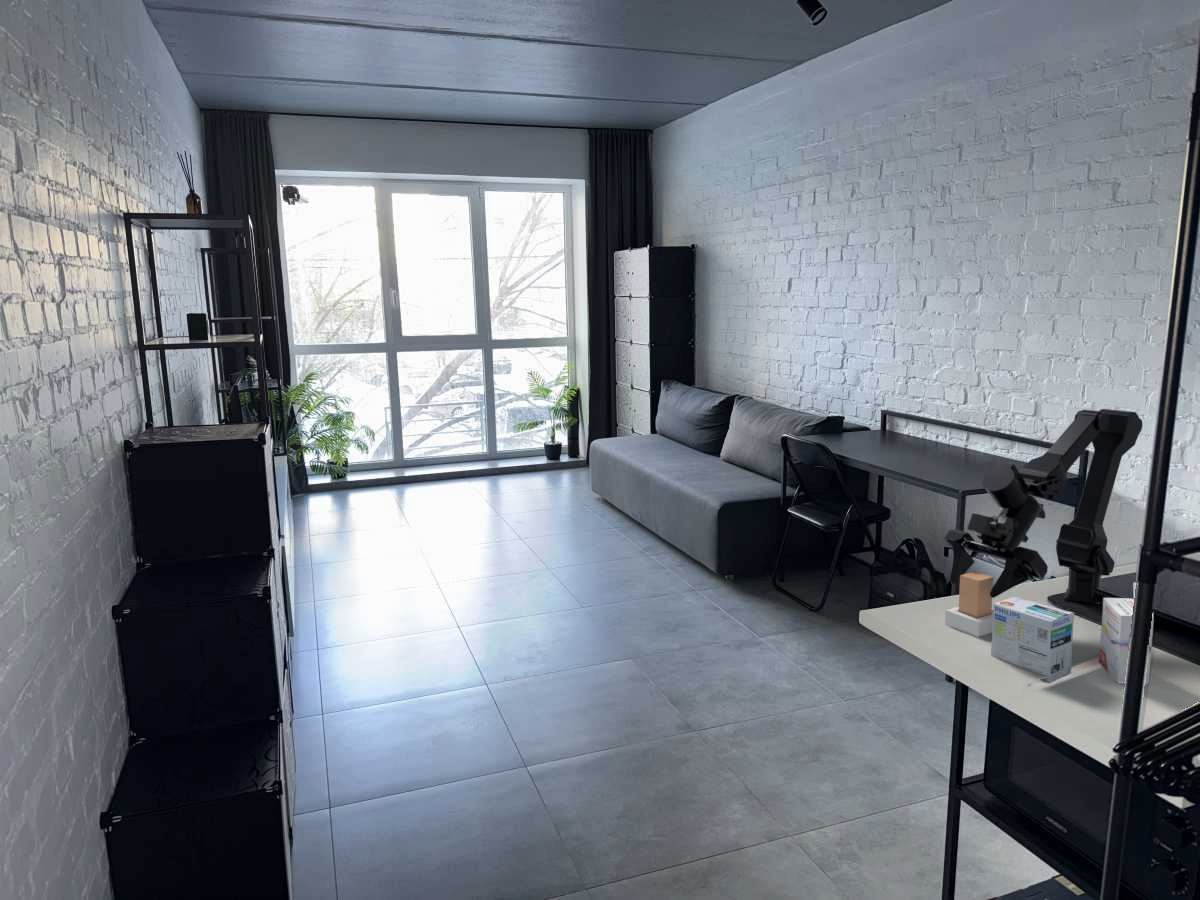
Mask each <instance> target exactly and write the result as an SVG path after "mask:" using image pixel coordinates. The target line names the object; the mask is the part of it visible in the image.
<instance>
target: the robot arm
mask: <svg viewBox="0 0 1200 900" xmlns="http://www.w3.org/2000/svg"><path fill="white" fill-rule="evenodd" d="M1143 424H1144V423H1143V420H1142V418H1140V417H1139V415H1138V413H1137V412H1135V411H1127V410H1118V409H1108V408H1102V409H1099V410H1090V409H1082V410H1079V411H1077V412H1076V414H1075V415H1074V419H1073V421H1072V422H1071V423H1070V425H1068V427H1067V428H1066V429H1065V430H1064V431H1063V433H1061V435H1060V436H1059V438H1057V440H1056V441H1055V442H1054V443H1053V444H1052V445H1051V446H1050V447H1049V449H1048V450H1047V451H1046V452H1045V453H1044V454H1043V455H1041V456H1038V457H1036V458H1033V459H1030V460H1029V461H1028V462H1027V463H1026V464H1024V465H1023V466H1022V467H1021V468H1020V469H1019V470H1018V468H1017V466H1016V465H1015V464H1014V463H1009V462H1003V464H1002V465H1001V466H999V467H998V466H997V467H995V468H992V470H990V471H988V472H987V473H985V474H984V476H983V478H982V481H981V482H982V487H983V488H984V489H985V491H986V492H987V493H988V494H989V496H990V497H991V500H993V502H994V503H995V504H996V506H997V507H1000V508H1002V509H1001V511H1000V512H999V514H998V515H997V516H996V515H991V516H987V515H985V514H984V515H983V514H979V513H975V512H972V513H971V516H970V519H969V522H968V525H967V527H966V529H967V530H968V531H973V532H974V533H975V532H976V533H977V534H976V537H977V539H979V540H981V542H979V541H975V539H974V537H972V535H971V534H970V533H969V532H967V531H963V530H959V529H956V528H955V529H954V528H953V529H950V530H948V532H947V533H946V534H945V536H943V540H944V541H945V542H946V543H947V544H948V546H949V547H950V549H952V551H953V552H952V553H953V558H952V561H953V562H952V566H951V571H950V578H949V582H950V584H951V585H956V584H957V582H959V581H960V575H963V574H966V573H967V571H968V570H969V569H970V568H971V567H972V566H973V564H975V560H974V559H973V558H975V557H977V555H978V554H981V555H985V556H988V557H991V558H995V559H998V560H1002V561H1005V563H1004V564H1005V565H1004V568H1003V571H1002V572H1001V573H1000V575H999V576H998V578H997V580H996V582H995V583H994V584H993V588H992V590H991V592H990V596H991V597H992V599H995V598H997V597H999V596H1000V595H1001V594H1003V593H1005V592H1007V591H1008V590H1010V589H1013V588H1014V587H1016V586H1018V585H1020V584H1023V583H1025V582H1027V581H1030V582H1033V580H1034V579H1038V580H1043V579H1044V578H1045V577H1046V574H1047V573H1048V564H1047V562H1045V560H1044V559H1043V557H1042V556H1041V554H1039V552H1038V550H1035V549H1030V548H1027V547H1024V546H1020V544H1021V543H1025V544H1027V542H1028V540H1029V537H1028V535H1027V534H1028V533H1029V530H1030V529H1031V527H1032V525H1033V524H1034V522H1036V521H1035V520H1036V519H1038V518H1039V519H1042V520H1043V519H1045V518H1046V512H1045V511H1046V510H1045V509H1044V504H1043V503H1039V502H1038V499H1043V500H1047V501H1048V500H1049V501H1052V500H1053V501H1054V500H1055V499H1056V498H1057V497H1059V495H1060V494H1061V492H1062V491H1063V489H1064V488H1065V486H1066V484H1067V483H1068V476H1067V475H1068V471H1069V470H1070V469H1071V467H1072V466H1073V465H1074V464H1075V462H1076V461H1078V459H1079V457H1081V456H1082V454H1083V453H1084V452H1085V451H1086V449H1087V448H1088V447H1089V446H1090V444H1092V446H1093V449H1094V450H1093V455H1092V459H1091V462H1090V465H1089V468H1088V473H1087V475H1086V478H1085V483H1084V486H1083V489H1082V493H1081V497H1080V501H1079V504H1078V507H1077V510H1076V514H1075V517H1074V518H1073V520H1071V522H1068V523H1063V524H1062V525H1061V526H1060V529H1059V534H1058V538H1057V539H1056V541H1055V543H1056V545H1055V549H1056V550H1055V551H1056V556H1057V561H1058V566H1059V567H1065V568H1068V569H1069V570H1068V583H1067V588H1066V590H1065V593H1064V597H1063V599H1064V600H1065V601H1070V600H1075V601H1074V602H1077V601H1083V602H1082V603H1084V602H1092V603H1098V602H1097V601H1096V598H1095V594H1094V590H1095V589H1097V588H1099V587H1100V588H1101V583H1102V576H1107V577H1108V576H1111V573H1113V571H1114V568H1115V563H1116V562H1115V561H1114V559H1113V558H1112V556H1111V554H1110V553H1109V552H1108V551H1107V546H1108V537H1107V535H1106V531H1105V529H1104V520H1105V517H1106V514H1107V510H1108V506H1109V504H1110V501H1111V500H1110V499H1111V496H1112V493H1113V489H1114V485H1115V483H1116V479H1117V475H1118V473H1119V472H1118V471H1119V469H1120V465H1121V461H1122V458H1123V456H1124V455H1125V454H1126V453H1127V452H1128V451H1130V450H1131V449H1132V448H1133V447H1134V446H1135V445H1136V443H1137V440H1138V437H1139V435H1140V433H1141V432H1142V429H1143ZM1036 498H1038V499H1036Z"/></svg>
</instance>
